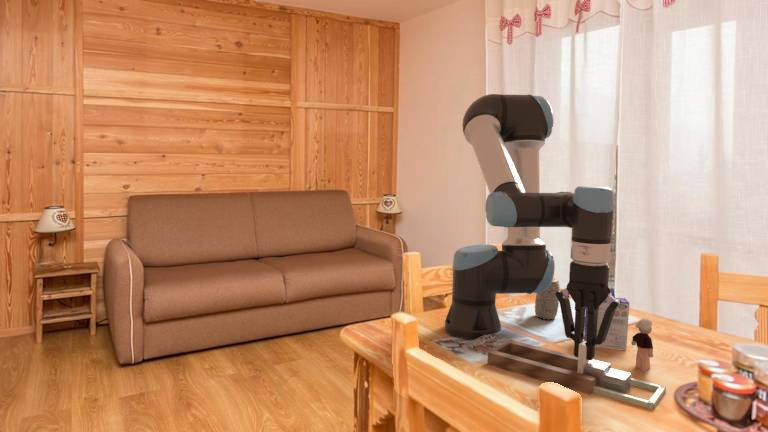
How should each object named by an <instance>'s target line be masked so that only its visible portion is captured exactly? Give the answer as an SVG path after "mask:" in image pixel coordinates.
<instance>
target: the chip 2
mask: <svg viewBox="0 0 768 432" xmlns="http://www.w3.org/2000/svg"><path fill="white" fill-rule="evenodd" d="M631 378H632V373H631V372H627V371H624V370H619V369H616V368H610V369H609V370H608V371H607V372H606V373H605V374H604V379H603V388H605V389H609V390H612V391H616V392H619V393H623V394H626V393H628V391H629V390H630V389H631Z"/></svg>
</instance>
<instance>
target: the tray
mask: <svg viewBox="0 0 768 432" xmlns="http://www.w3.org/2000/svg"><path fill="white" fill-rule="evenodd" d="M630 386H635V387H639V388H642V389H646V390H650V391H653V392H654V393H653V394H652V396H651V397H650V398H649V400H648V399H644V398H640V397H638V396H633V395H630V394H626V393H625V394H623V393H619V392H616V391H612V390H609V389H605V388H601V387H598V386H594V387H593V392H592V394H593V393H594V394H596V395H597V394H598V395H601V396H604V397H607V398H612V399H615V400H619V401H621V402H625V403H628V404H629V403H630V404H631V405H636V406H639V407H643V408H647V409H650V410H654V408H655V407H656V406H657V404H658V403H659V402H660V401H661V399H662V398H663V396H664V395H665V393H666V390H667V386H664V385H660V384H657V383H654V382H653V383H652V382H649V381H646V380H641V379H637V378H633V377H631V384H630Z"/></svg>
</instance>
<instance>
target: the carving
mask: <svg viewBox="0 0 768 432" xmlns="http://www.w3.org/2000/svg"><path fill="white" fill-rule="evenodd" d="M560 286H561V285H560V281H559V279H558V278H556V277H553V280H552V282H551V284H550V286H549V288H548V289H547V290H545V291H544V292H541V293H535V294H536V295H535V301H534V303H535V304H534V313H535V316H536V317H538V318H539V317H540V318H539V319H541V318H544V319H543V320H545V319H552V320H554V319H555V318H556V317H557V315H558V310H559V305H560V302H559V300H558V299H557V297H556V295H555V293H556V292H557V291H560V290H561V289H560ZM553 318H554V319H553Z"/></svg>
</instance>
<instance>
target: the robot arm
mask: <svg viewBox="0 0 768 432" xmlns="http://www.w3.org/2000/svg"><path fill="white" fill-rule="evenodd" d="M554 124H555V123H554V112H553V109H552V106H551V103H550V102H549V101H548V100H547V98H546V97H544V96H542V95H533V94H498V93H490V94H486V95H482V96H480V97H478V98H476V100H474V101H473V102H472V103H471V104H470V105H469V106H468V108H467V109H466V111H465V113H464V115H463V119H462V123H461V125H462V127H461V128H462V132H463V136H464V138H465V140H466V141H467V143H468V144H470V145H471V146H472V149H473V150H474V153H475V156H476V159H477V162H478V165H479V167H480V170H481V173H482V175H483V178H484V182H485V185H487V190H488V191H489V194H488V195H487V197H486V200H485V214H486V215H485V218H486V221H487V223H488V224H489V225H490V226H492V227H501V228H507V237H506V239H505V240H504V241H503V242H502V243H501V250H499V249H498V247H497V246H496V245H493V244H472V245H468V246H463V247H460V248H458V249H457V250H455V251H454V254H453V261H452V267H451V268H452V289H451V290H452V291H451V292H452V293H451V295H452V297H451V304H450V307H449V309H448V312H447V315H446V316H445V317H446V318H445V321H444V331H445V332H446V333H447V334H448V335H450V336H453V337H455V338H459V339H463V340H469V341H471V340H473V341H475V340H477V339H479V338H481V337H483V336H488V335H493V334H497V333H499V332H500V331H501V330H502V325H501V321H500V316H499V313H498V309H497V306H496V298H497V297H496V296H497V294H499V295H501V294H504V295H505V294H506V295H507V294H508V295H509V294H527V295H531V294H536V293H541V292H544V291H545V290H547V289H548V288H549V286H550V284H551V282H552V280H553V278H554V275H555V270H556V269H555V266H556V264H555V259H554V255H553V253H552V252H551V251H550V250H548V249H547V247H546V246H547V244H546V243H545V242H544V241H543V240H542V238H541V228H569V229H571V241H570V242H571V243H570V259H571V260H572V261H570V263H569V273H568V274H569V276H568V277H569V280H568V282H567V285H566V288H563V289H559V291H557V292H556V293H555V295H556V297H557V299H558V300H559V305H560V306H559V307H560V313H561V317H562V322H563V324H562V325H563V329H564V334H565V337H567V338H568V339H571V340H572V341H573V343H574V344H573V345H574V347H573V356H575V357H578V368H577V373H580V374H583V369H584V364H585V363H587V362H588V361H589V360H590V361H591V360H592V359H594V358H595V353H596V351H595V349H596V348H595V345H597V344H598V345H600V344H601V343H603V342H604V341H605V339H606V336H607V333H608V331H609V328H610V325H611V322H612V319H613V316H614V313H615V310H616V309H617V308H618V307H619V306H620V304H621V300H619V299H615V298H616V297H615V298H614V297H613V296H612V294H611V292H610V290H609V289H610V287H609V277H610V276H609V275H610V265H609V264H608V263H610V262H611V245H612V244H611V242H612V233H613V231H612V229H613V218H614V217H613V216H614V210H615V209H614V208H615V206H614V205H615V204H614V191H613V189H612V188H611V187H609V186H597V185H580V186H577V187H575V189H574V190H573V191H574V192H571V191H558V192H540V190H541V189H540V188H541V187H540V150H541V149H542V147H543V146H545V144H546V139H548V138H549V137H550V136H551V135H552V133H553V127H554ZM570 297H571V298H572V300H573V302H574V311H575V312H574V313H575V315H574V318H573V312H572V307H571V301H570ZM605 300H607V303H606V305H607V307H608V308H607V309H606V311H605V314H604V317H603V320H602V323H601V326H600V329H599V332H598V335H597V319H598V310H599V306H600V305H601V304H602V303H603V302H604V301H605ZM586 307H587V312H588V321H587V339H586V341H584V338H585V337H584V333H585V311H586ZM596 336H597V337H596Z"/></svg>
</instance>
